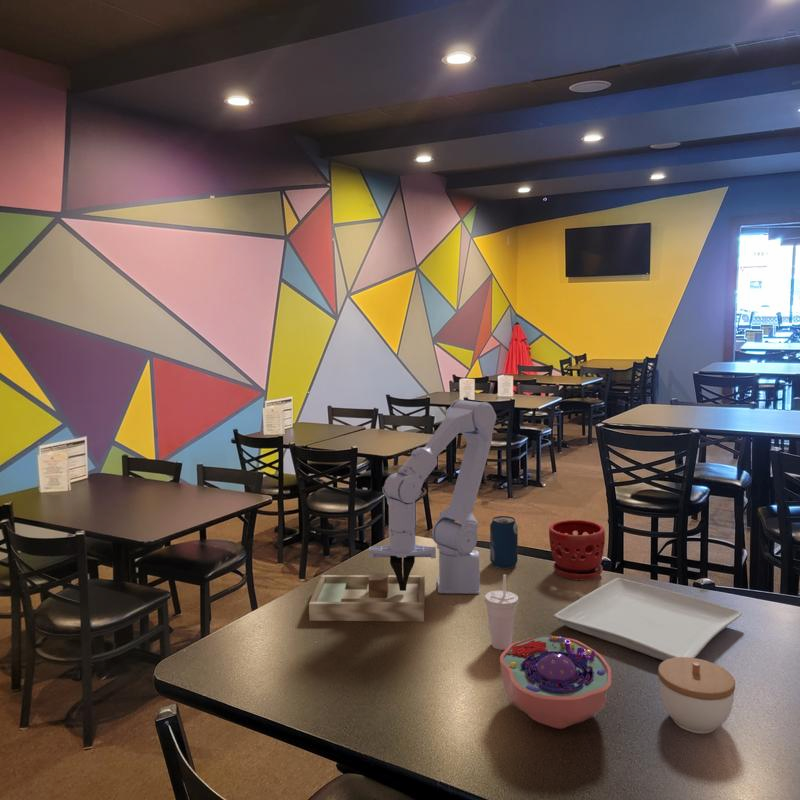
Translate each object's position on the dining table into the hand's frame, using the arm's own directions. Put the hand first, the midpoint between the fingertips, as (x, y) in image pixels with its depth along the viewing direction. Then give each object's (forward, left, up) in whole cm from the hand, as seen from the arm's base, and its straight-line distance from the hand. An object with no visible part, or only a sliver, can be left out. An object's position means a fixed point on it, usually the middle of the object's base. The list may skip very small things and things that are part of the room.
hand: (403, 588), depth 145 cm
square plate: (-50, +10, -4) cm, 51 cm away
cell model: (-26, +40, -4) cm, 48 cm away
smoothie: (-20, +18, -4) cm, 27 cm away
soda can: (-25, -25, -4) cm, 35 cm away
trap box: (+7, 0, -4) cm, 8 cm away
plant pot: (-42, -19, -4) cm, 46 cm away
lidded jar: (-47, +42, -4) cm, 63 cm away
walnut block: (+5, 0, -1) cm, 6 cm away
